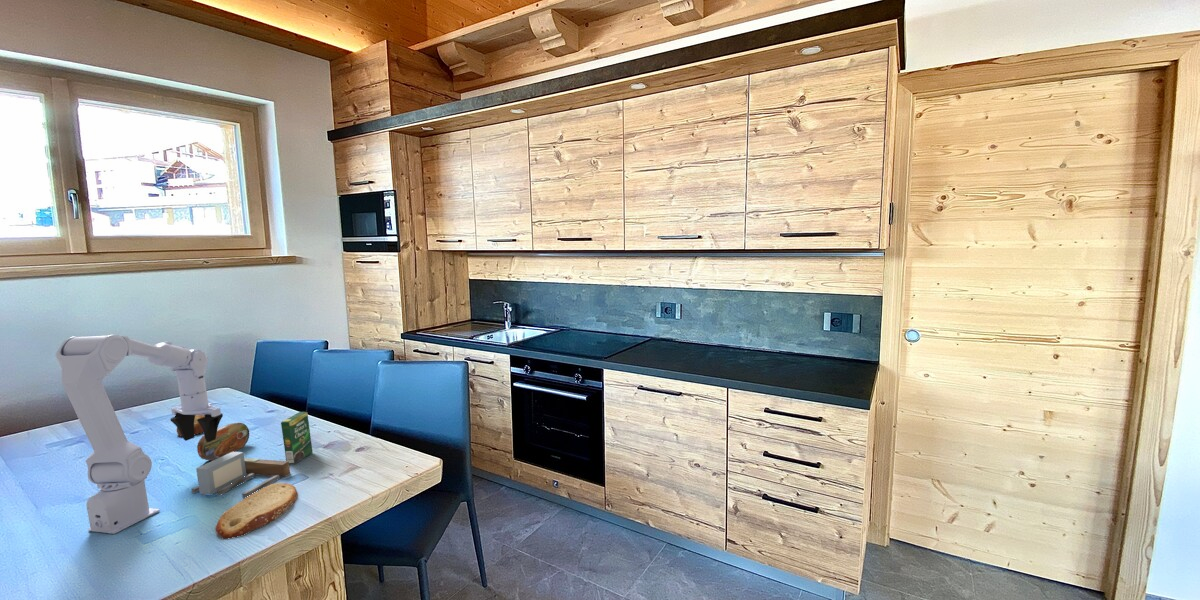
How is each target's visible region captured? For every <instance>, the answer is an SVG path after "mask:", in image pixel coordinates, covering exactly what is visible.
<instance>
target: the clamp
mask: <svg viewBox="0 0 1200 600" xmlns="http://www.w3.org/2000/svg"><path fill="white" fill-rule="evenodd" d="M244 461H245V468H246V473H247V474H246V475H247V476H245V477H243V478H241V479H239V480H237V481H235V482H233V483H232V484H230V485H228V486H226V487H224V488H222V489H220V490H218V491H216V492H215V493H216V496H222V495H224V494H226V493H228V492H229V491H231V490H233V489H235V488H237V487H238V486H237V485H239V484H240V485H242V484H244V483H246V482H248V481H249V479H250V480H251V478H252V477H254V478H255V477H256V475H255V474H259V475H258V476H267V475H269V476H270V478H268V479H266V480H264V481H262V482H260V483H258V484H256V485H255V486H253V487H251V488H250V489H248V490H246V491H244V492H243V493H242V494H241V497H242V498H243V497H247V496H249V495H251V494H252V493H254V492H256V491H257V490H259V489H261V488H263V487H264V488H265V486H269V485H271V484H273V483H274V482H276V481H277V479H278V480H280V479H279V478H280V477H279V476H282V477H283V476H285V477H287V476H288V475H290V474H291V470H290V469H291V468H290V464H289V461H286V460H273V459H261V458H250V457H249V458H248V457H247V458H246V457H244ZM286 475H287V476H286ZM269 476H268V477H269ZM282 477H281V478H282ZM283 478H284V477H283ZM252 479H253V478H252ZM247 480H248V481H247ZM245 481H246V482H245ZM243 482H244V483H243ZM272 482H273V483H272ZM241 483H242V484H241ZM240 485H239V486H240ZM236 486H237V487H236ZM234 487H235V488H234ZM232 488H233V489H232ZM198 492H200V491H199V485H197V486H195V487H193V488H191V493H192V494H196V493H198ZM225 492H226V493H225ZM223 493H224V494H223ZM221 494H222V495H221Z"/></svg>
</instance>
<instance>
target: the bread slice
mask: <svg viewBox="0 0 1200 600" xmlns="http://www.w3.org/2000/svg"><path fill="white" fill-rule="evenodd" d="M296 498H298V491H297V489H296V487H295V485H293V484H291V483H287V482H278V483H276V482H275V483H271V484H269V485H267V486H266V487H264V488H262V489H260V490H259V491H257V492H255V493H253V494H251V495H250V496H248V497H246V498H243V499H242V500H241V501H239V502H237V503H235V504H234V505H233V506H232V507H231V508H229V509H226V511H224V512H223V513H222V515H221V516H220V518H219V519H218V521H217V523H216V525H215V534H216V535H218V536H219V537H220V538H221V539H222V538H223V539H222V540H228V538H230V539H233V538H232V537H235V538H238V537H237V536H240V537H242V536H241V535H243V536H245V535H247V534H249V533H251V532H252V531H255V530H258V529H260V527H261V528H263V527H265V526H267V525H269V524H271V523H273V522H274V521H276V520H277V519H279V518H280V517H281V516H282V515H284V514H285V513H286V512H287V511H288V510H289V509H290V508H291V507H292V505H293V504H295V503H296V500H297V499H296ZM292 503H293V504H292ZM291 504H292V505H291ZM286 510H287V511H286ZM285 511H286V512H285ZM284 512H285V513H284ZM283 513H284V514H283ZM281 514H282V515H281ZM280 515H281V516H280ZM279 516H280V517H279ZM276 518H277V519H276ZM275 519H276V520H275ZM272 521H273V522H272ZM270 522H271V523H270ZM262 526H263V527H262ZM257 528H258V529H257ZM248 532H249V533H248ZM246 533H247V534H246ZM244 534H245V535H244Z"/></svg>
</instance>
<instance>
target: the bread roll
mask: <svg viewBox="0 0 1200 600" xmlns="http://www.w3.org/2000/svg"><path fill="white" fill-rule="evenodd" d="M203 417H205V415H195V419H194V434H197V433H201V434H203V433H202V432H203V429H202V427H201V425H200V424H199V422H198V421H197V419H200V418H203ZM176 432H177V435H178V436H179V437H182V434H181V433H180V431H179V429H178V428H177V427H176ZM197 435H198V434H197Z"/></svg>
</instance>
